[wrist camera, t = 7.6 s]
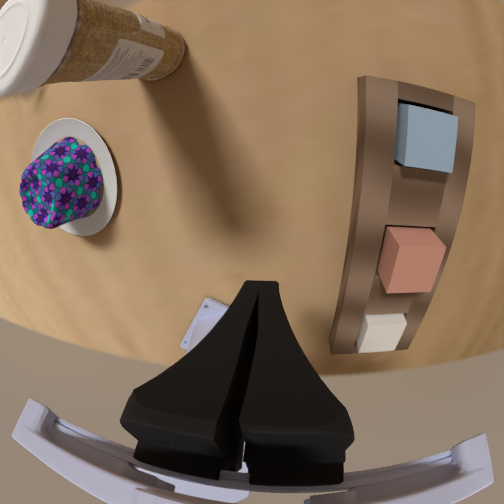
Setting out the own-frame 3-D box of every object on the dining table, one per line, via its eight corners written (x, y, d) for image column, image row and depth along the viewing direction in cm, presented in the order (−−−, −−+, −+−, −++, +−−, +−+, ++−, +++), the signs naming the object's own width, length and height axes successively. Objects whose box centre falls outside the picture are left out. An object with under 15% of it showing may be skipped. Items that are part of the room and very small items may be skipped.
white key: (388, 329, 26) (394, 350, 23) (354, 331, 26) (358, 352, 24) (398, 302, 24) (407, 323, 21) (362, 303, 24) (368, 325, 22)
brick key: (418, 270, 20) (430, 291, 17) (377, 270, 20) (386, 293, 18) (430, 228, 18) (446, 247, 15) (386, 225, 18) (399, 246, 16)
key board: (403, 336, 26) (407, 349, 25) (329, 339, 28) (330, 354, 26) (461, 100, 13) (475, 103, 12) (357, 77, 14) (365, 75, 13)
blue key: (433, 161, 16) (452, 173, 14) (388, 155, 17) (404, 166, 14) (437, 112, 14) (458, 116, 12) (391, 102, 15) (408, 104, 12)
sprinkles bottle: (184, 20, 13) (50, -41, 2) (188, 74, 15) (40, 66, 4) (128, 37, 14) (-20, 25, 2) (133, 88, 16) (-22, 117, 5)
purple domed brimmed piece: (94, 253, 25) (67, 283, 21) (26, 187, 22) (-5, 207, 17) (145, 166, 20) (110, 189, 15) (59, 93, 16) (18, 102, 12)
